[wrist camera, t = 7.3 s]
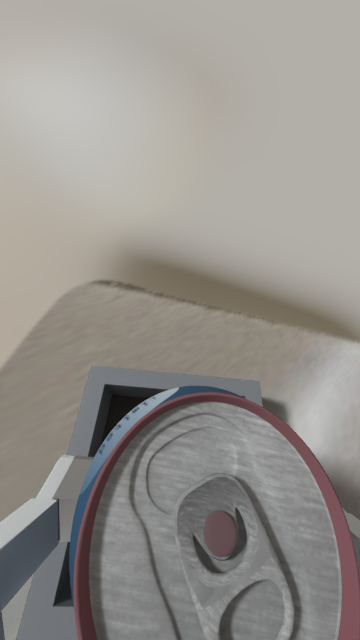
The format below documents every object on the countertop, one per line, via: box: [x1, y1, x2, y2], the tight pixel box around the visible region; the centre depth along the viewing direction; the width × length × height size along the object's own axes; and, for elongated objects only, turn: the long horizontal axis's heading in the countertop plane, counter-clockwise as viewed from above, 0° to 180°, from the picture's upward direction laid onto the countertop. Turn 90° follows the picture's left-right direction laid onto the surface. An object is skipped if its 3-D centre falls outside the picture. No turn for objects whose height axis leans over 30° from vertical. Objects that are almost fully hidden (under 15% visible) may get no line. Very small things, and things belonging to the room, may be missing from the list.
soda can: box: [69, 386, 360, 640], centre depth 10 cm, size 7×7×12 cm
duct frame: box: [16, 365, 263, 640], centre depth 11 cm, size 12×25×4 cm, turn 176°
